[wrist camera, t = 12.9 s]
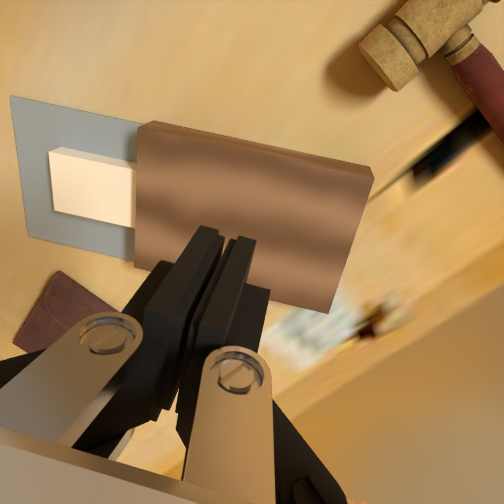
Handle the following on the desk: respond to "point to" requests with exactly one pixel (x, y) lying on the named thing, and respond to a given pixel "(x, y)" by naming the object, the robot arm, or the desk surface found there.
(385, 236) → the desk surface
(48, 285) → the notebook
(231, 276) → the robot arm
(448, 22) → the gavel
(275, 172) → the brown wooden board
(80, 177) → the cream flat block
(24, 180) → the mat
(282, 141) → the desk surface
